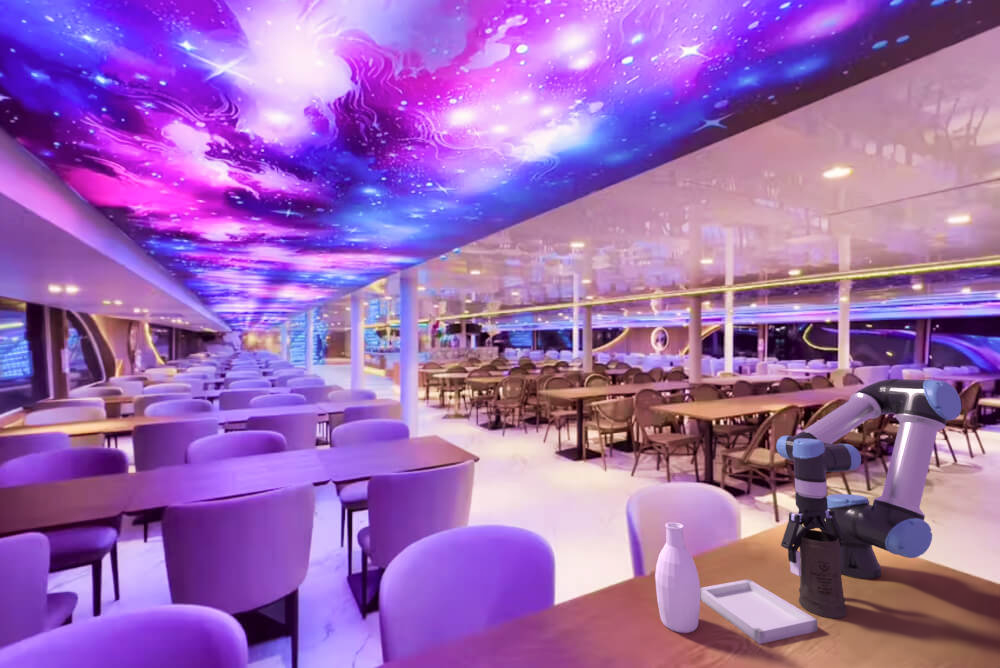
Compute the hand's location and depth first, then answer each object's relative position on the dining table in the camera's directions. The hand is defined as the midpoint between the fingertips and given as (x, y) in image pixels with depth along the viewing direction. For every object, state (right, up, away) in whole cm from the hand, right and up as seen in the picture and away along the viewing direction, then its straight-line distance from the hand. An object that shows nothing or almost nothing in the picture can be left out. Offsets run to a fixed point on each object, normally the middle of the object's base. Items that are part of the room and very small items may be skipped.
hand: (815, 570), depth 126 cm
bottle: (-42, -10, -8) cm, 44 cm away
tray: (-20, -9, -5) cm, 22 cm away
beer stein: (+1, -9, 0) cm, 9 cm away
